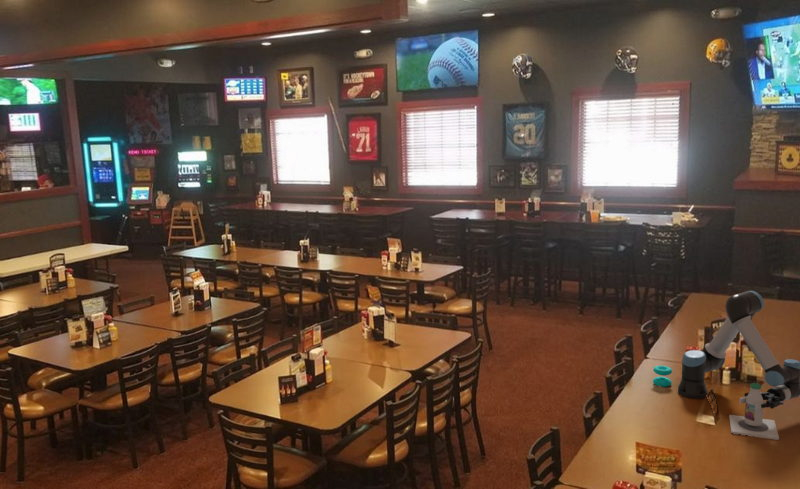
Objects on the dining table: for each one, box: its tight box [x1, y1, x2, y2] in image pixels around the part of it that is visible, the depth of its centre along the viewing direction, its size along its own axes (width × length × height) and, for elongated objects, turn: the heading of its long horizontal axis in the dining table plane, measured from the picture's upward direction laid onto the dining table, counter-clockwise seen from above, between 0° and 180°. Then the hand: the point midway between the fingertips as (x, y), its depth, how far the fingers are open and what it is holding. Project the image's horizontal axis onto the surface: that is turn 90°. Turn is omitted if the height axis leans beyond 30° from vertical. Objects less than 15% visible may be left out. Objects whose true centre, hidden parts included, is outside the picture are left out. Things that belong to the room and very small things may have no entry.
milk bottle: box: [744, 382, 764, 426], centre depth 320 cm, size 8×8×20 cm
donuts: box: [652, 365, 673, 388], centre depth 379 cm, size 10×10×10 cm
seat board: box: [728, 414, 780, 441], centre depth 322 cm, size 20×20×1 cm
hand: (747, 404), depth 318 cm, fingers closed on milk bottle, 7 cm apart
